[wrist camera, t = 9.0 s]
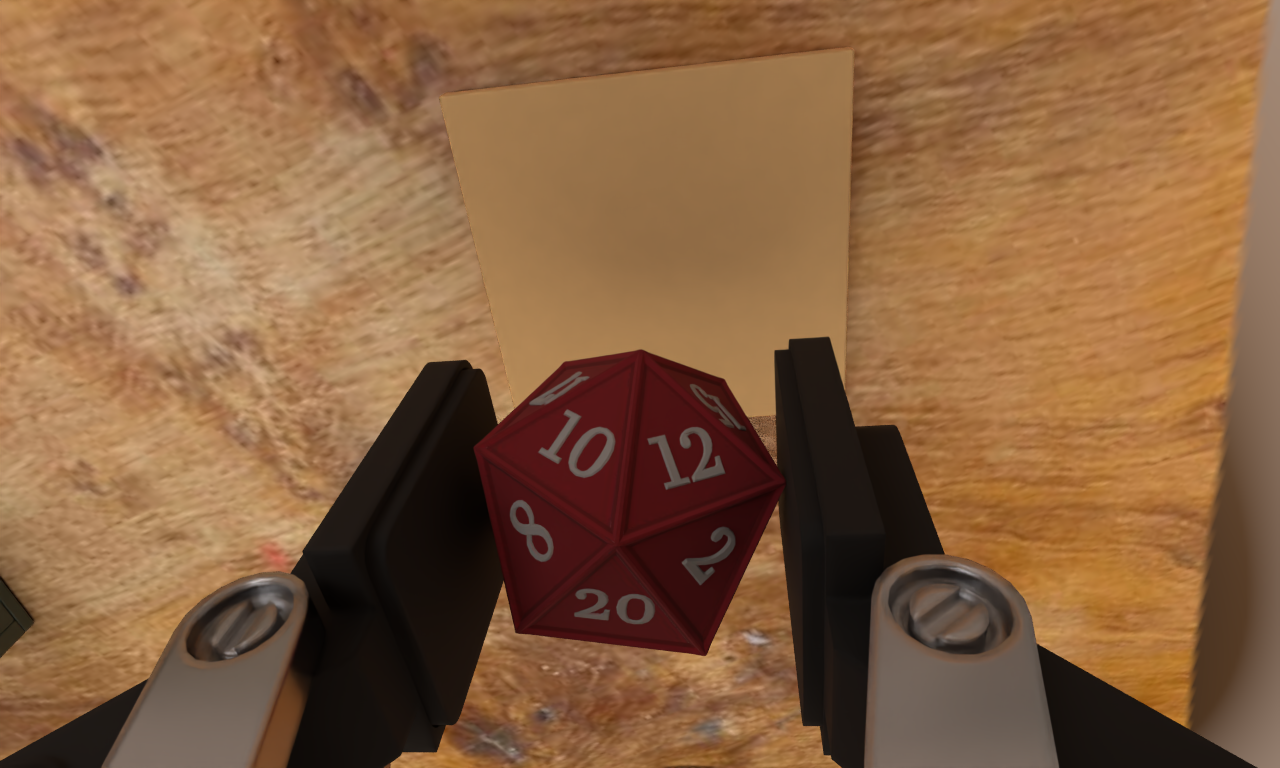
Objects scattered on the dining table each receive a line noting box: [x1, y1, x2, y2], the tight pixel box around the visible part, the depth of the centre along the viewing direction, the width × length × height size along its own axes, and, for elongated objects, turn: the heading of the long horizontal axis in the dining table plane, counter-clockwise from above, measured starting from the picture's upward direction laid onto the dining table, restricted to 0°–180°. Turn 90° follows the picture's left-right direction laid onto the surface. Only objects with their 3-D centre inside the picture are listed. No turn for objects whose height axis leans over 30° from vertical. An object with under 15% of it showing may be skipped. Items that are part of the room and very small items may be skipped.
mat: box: [439, 47, 854, 417], centre depth 16 cm, size 8×8×1 cm
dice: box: [473, 349, 786, 656], centre depth 10 cm, size 4×4×4 cm
